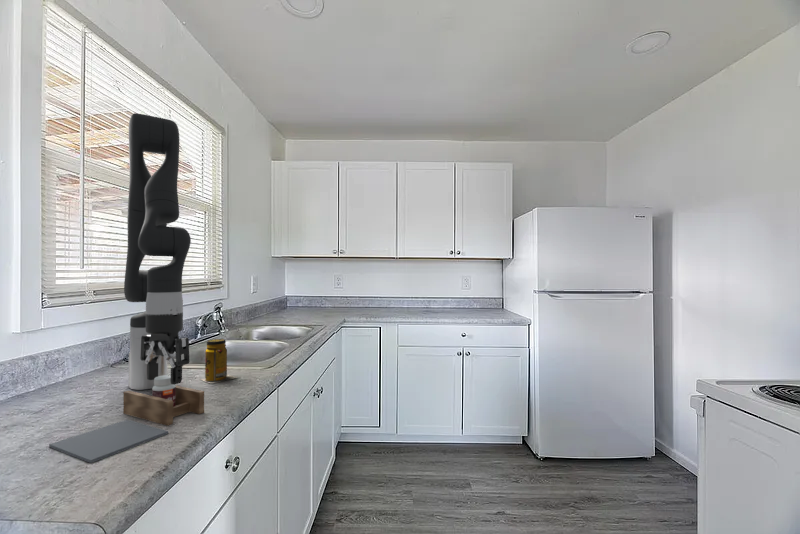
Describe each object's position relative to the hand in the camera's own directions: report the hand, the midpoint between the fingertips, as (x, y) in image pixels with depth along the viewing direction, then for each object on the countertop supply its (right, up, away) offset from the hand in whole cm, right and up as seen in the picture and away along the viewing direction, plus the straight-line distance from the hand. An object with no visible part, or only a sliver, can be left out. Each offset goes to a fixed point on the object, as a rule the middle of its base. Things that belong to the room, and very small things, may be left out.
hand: (164, 381), depth 93 cm
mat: (-2, -7, -14) cm, 16 cm away
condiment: (-1, -8, +29) cm, 30 cm away
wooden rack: (0, -7, 0) cm, 7 cm away
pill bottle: (0, -8, 0) cm, 8 cm away
